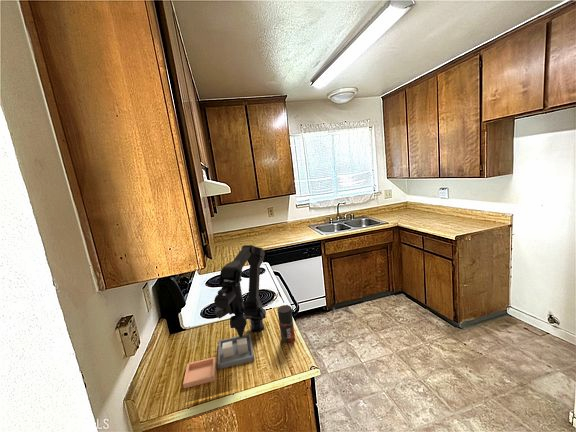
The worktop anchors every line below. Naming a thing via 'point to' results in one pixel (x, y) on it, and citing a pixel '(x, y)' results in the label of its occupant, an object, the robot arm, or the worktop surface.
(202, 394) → the worktop surface
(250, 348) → the bin
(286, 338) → the deodorant
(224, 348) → the beige cube
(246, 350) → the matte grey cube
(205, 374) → the dish
